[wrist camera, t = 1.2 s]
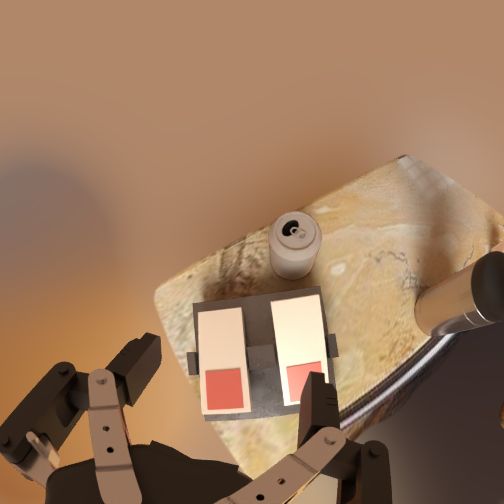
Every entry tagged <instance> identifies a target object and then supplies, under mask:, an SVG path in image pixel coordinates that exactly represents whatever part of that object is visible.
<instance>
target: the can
mask: <svg viewBox="0 0 504 504" xmlns="http://www.w3.org/2000/svg"><path fill="white" fill-rule="evenodd" d="M321 241H322V234H321V230H320V228H319V226H318V224H317V223H316V221H315V220H314V219H313V218H312V217H311V216H309V215H308V214H306V213H304V212H300V211H290V212H287V213H284V214H283V215H281V216H280V217H278V218H277V219H276V220H275V221H274V222H273V224H272V225H271V227H270V230H269V247H270V261H271V265H272V268H273V270H274V271H275V272H276V273H277V274H278V275H279V276H281V277H283V278H286V279H290V280H293V279H299V278H302V277H304V276H305V275H307V274H308V273H309V272H310V270H311V268H312V267H313V264H314V262H315V259H316V256H317V254H318V251H319V248H320V245H321Z"/></svg>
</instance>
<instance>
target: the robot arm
mask: <svg viewBox="0 0 504 504" xmlns="http://www.w3.org/2000/svg"><path fill="white" fill-rule="evenodd" d="M415 317H416V321H417V324H418V326H419V328H420V329H421V330H422V331H423V333H425V334H426V335H428V336H432V337H436V336H441V335H446V334H451V333H456V332H460V331H464V330H469V329H473V328H477V327H481V326H484V325H487V324H491V323H495V322H499V321H504V253H503V252H500V251H492V252H490V253H488V254H486V255H484V256H483V257H481V258H480V259H478V260H477V261H475V262H474V263H472V264H470V265H469V266H467V267H466V268H464V269H462V270H461V271H459V272H457V273H455V274H454V275H452V276H450V277H448V278H447V279H445V280H443V281H441V282H440V283H438V284H436V285H434V286H432V287H430V288H428V289H427V290H425V291H424V292H422V293H421V295H420V296H419V298H418V299H417V302H416V306H415ZM161 359H162V355H161V339H160V336H157V335H154V334H151V333H145V334H144V335H143V337H142V338H141V339H137V338H136V339H134V340H132V341H130V342H128V343H127V345H126V346H125V347H124V348H123V349H122V350H121V351H120V353H119V354H117V356H116V357H115V358H114V359H113V360H112V361H111V362H110V363H109V365H108V366H107V367H106V368H105V369H97V370H94V371H93V372H91V373H90V374H88V373H82V372H77V371H76V369H75V367H74V365H73V364H71V363H69V362H60V363H58V364H56V365H54V366H53V368H52V369H51V370H50V371H49V372H48V373H47V374H46V375H45V376H44V377H43V378H42V379H41V380H40V381H39V383H38V384H37V385H36V386H35V387H34V388H33V389H32V390H31V391H30V393H29V394H28V395H27V396H26V397H25V398H24V399H23V400H22V402H21V403H20V404H19V405H18V406H17V407H16V409H15V410H14V411H13V412H12V413H11V414H10V416H9V417H8V418H7V419H6V420H5V422H4V423H3V424H2V425H1V426H0V453H1V454H2V455H3V456H4V458H5V459H6V460H7V461H8V462H9V463H10V464H11V465H12V466H13V467H14V468H15V469H16V470H17V471H18V472H20V473H21V474H22V475H23V476H24V477H25V478H26V479H28V480H30V481H35V482H37V483H38V484H39V485H41V486H42V487H43V488H45V489H46V499H45V504H289V503H290V502H291V501H292V500H293V499H294V498H296V496H298V495H299V494H300V493H301V492H302V491H303V490H304V489H305V488H306V487H308V485H310V484H311V483H312V482H313V481H314V480H315V479H316V478H317V477H318V476H319V475H320V474H324V475H328V476H330V477H333V478H337V479H338V488H337V502H336V504H392V489H391V476H390V464H389V454H388V449H387V447H386V446H385V445H384V444H383V443H381V442H379V441H368V442H366V443H365V444H364V445H363V444H359V443H356V442H353V441H350V440H348V439H347V438H346V437H345V435H344V433H343V432H342V431H341V430H340V421H339V409H338V400H337V391H336V389H335V387H334V386H333V384H332V383H325V374H324V373H321V372H314V371H310V372H309V374H308V377H307V380H306V382H305V385H304V388H303V390H302V394H301V398H300V414H299V430H298V445H297V451H296V452H294V453H293V454H289V455H287V456H286V457H284V458H283V459H282V460H280V461H279V462H278V463H277V464H275V465H274V466H273V467H271V468H270V469H269V470H267V471H266V472H265V473H263V474H262V475H260V476H259V477H258V478H256V479H255V480H252V479H251V478H250V477H249V476H247V475H245V474H244V473H242V472H240V471H238V467H239V466H238V465H233V464H229V463H224V462H220V461H214V460H198V459H192V458H190V457H188V456H186V455H184V454H182V453H181V452H179V451H177V450H176V449H174V448H172V447H169V446H166V445H164V444H161V443H158V442H155V441H153V440H152V441H151V443H150V445H145V444H137V445H132V444H131V440H130V437H129V433H128V429H127V425H126V421H125V416H124V412H123V407H124V406H125V404H127V405H129V406H132V407H133V405H134V404H135V402H136V401H137V399H138V398H139V396H140V395H141V393H142V392H143V390H144V389H145V387H146V386H147V384H148V383H149V381H150V380H151V378H152V377H153V375H154V374H155V373H156V371H157V369H158V368H159V366H160V364H161ZM85 410H86V411H88V417H89V426H90V434H91V440H92V447H93V453H94V458H92V459H89V460H85V461H82V462H79V463H75V464H71V465H68V466H64V467H61V468H58V466H59V460H60V457H59V454H58V450H59V448H60V447H61V445H62V444H63V443H64V441H65V440H66V438H67V437H68V435H69V434H70V432H71V431H72V429H73V428H74V426H75V425H76V423H77V422H78V420H79V419H80V417H81V416H82V414H83V413H84V412H85ZM57 468H58V469H57Z"/></svg>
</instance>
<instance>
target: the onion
mask: <svg viewBox="0 0 504 504" xmlns="http://www.w3.org/2000/svg"><path fill="white" fill-rule="evenodd" d="M499 419H500V423H501V426H502V427H503V428H504V402H503V405H502V408H501V410H500V415H499Z"/></svg>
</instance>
